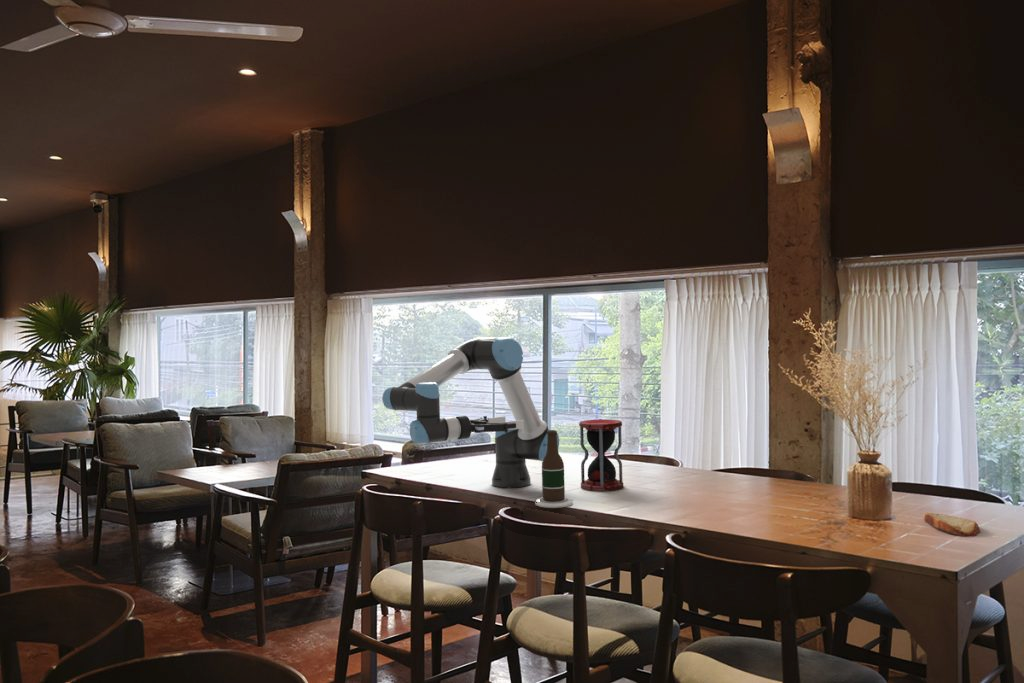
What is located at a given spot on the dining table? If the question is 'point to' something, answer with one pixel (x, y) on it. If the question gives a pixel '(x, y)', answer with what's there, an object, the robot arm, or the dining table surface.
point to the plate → (554, 503)
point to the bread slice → (952, 524)
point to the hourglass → (601, 455)
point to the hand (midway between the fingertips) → (514, 422)
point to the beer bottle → (552, 471)
